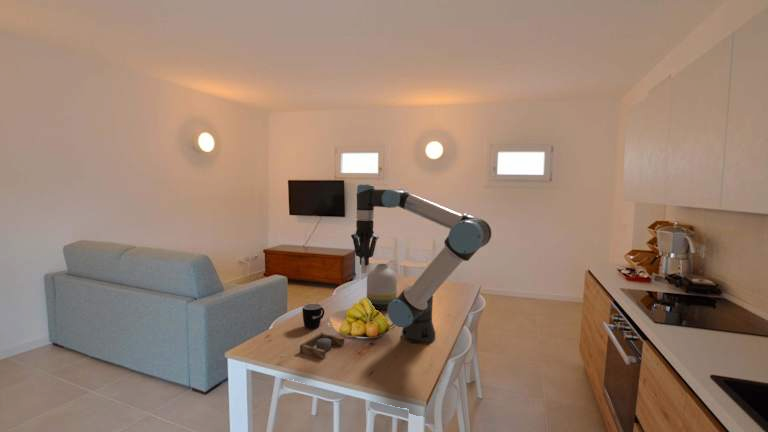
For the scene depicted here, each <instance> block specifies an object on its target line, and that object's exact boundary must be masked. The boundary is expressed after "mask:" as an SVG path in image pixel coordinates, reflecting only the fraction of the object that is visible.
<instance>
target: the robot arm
mask: <svg viewBox="0 0 768 432" xmlns="http://www.w3.org/2000/svg"><path fill="white" fill-rule="evenodd" d="M355 195H356V216H355V217H356V226H355V227H356V230H355V233H353V234H351V235H350V236H351V239H352V241H353V245H354V252H355V256H356V257H358V258H359V265H360V266H361V268H360V273H361V274H365V273H368V266H369V264H370V258H373V257H374V254H375V249H376V246H377V241H378V239H379V235H376V234H375V232H374V220H373V219H374V217H375V216H374V213H375V212H374V209H375V207H377V208H387V209H390V208H391V209H392V208H397V207H399V208H401V209H403V210H406V211H408V212H410V213H412V214H414V215H417V216H419V217H421V218H424V219H426V220H428V221H429V222H433V223H434V224H437V225H439V226H441V227H444V228H446V229H449V233H448V235H447V237H446V238H445V239H444V240H443V243H444V246H443V248H442V249H441V251H440V252H439V253H438V254H437V255H436V256H435V258H434V259H433V260H432V261H431V263H429V265H428V266H427V267H426V268H425V269H424V271H423V272H422V273H421V274H420V276H419V277H418V278H417V279H416V280H415V282H414V283H413V284H412V285H408V286H407V287H405V288H403V290H402V292H401V293H400V294H399V295H397V296H398V297H397V298H396V299H394V300H392V301H391V302H390V304H389V305H388V309H386V310H387V316H388V319H389V320H390V322H391V323H392V324H393V325H395V326H396V327H398V328H402V330H401V338H402V340H404V341H406V342H407V343H411V344H417V345H419V344H420V345H422V344H429V343H432V342H433V341H435V340H436V331H435V328H434V324H433V302H434V294H435V293H436V292H437V291H438V290H439V288H440V287H441V286H442V285H443V284H444V283H445V282H446V280H448V278H449V277H450V276H451V275H452V274H453V272H455V270H456V269H457V268H458V267H459V265H461V263H462V262H469V260H470V259H471V258H472V257H473V256H474V255H476V253H477V252H478V251H479V250H480V249H481V248H483V247H485V246H486V245H487V244H488V243H489V242H490V240H491V238H492V228H491V226H490V224H489V223H488V222H487V221H486V220H484V219H482V218H479V217H477V216H473V215H470V214H469V213H468V214H467V213H464V214H463V213H462V214H461V213H459V212H456V211H454V210H451V209H450V208H446V207H444V206H442V205H439V204H438V203H436V202H431V201H429V200H427V199H424V198H421V197H420V196H417V195H414V194H412V193H410V191H408V190H405V189H403V188H402V189H393V188H392V189H389V188H388V189H375V185H374V184H358V185H357V186H356V194H355Z"/></svg>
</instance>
